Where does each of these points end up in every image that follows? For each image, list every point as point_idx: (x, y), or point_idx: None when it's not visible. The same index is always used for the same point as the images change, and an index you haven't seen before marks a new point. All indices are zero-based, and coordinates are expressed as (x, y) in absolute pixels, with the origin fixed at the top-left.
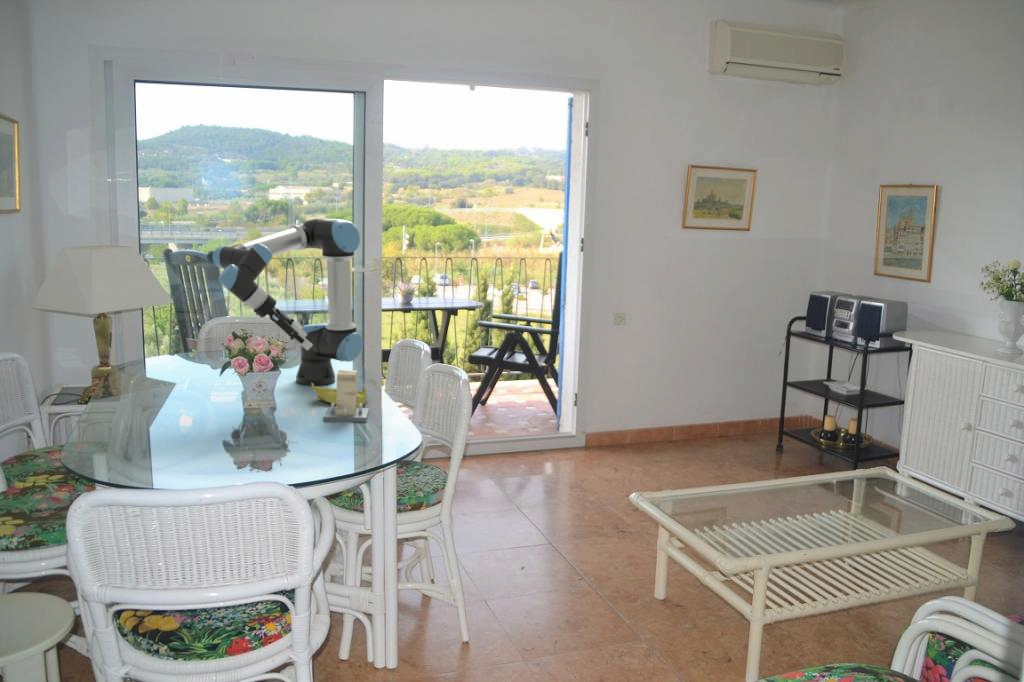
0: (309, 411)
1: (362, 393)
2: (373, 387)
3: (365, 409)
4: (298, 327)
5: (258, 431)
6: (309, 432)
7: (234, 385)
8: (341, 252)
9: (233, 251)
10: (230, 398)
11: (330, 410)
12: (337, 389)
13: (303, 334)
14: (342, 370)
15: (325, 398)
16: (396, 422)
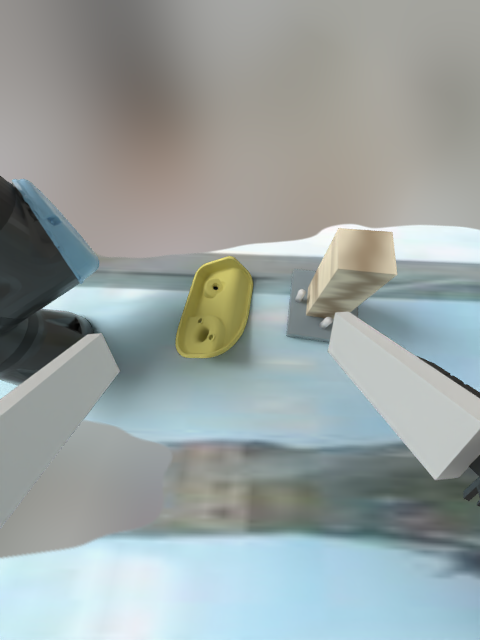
0: (283, 369)
1: (201, 273)
2: (136, 260)
3: (301, 273)
4: (26, 399)
5: (460, 495)
6: None
7: (14, 559)
8: None
9: None
10: (145, 577)
11: (310, 329)
12: (367, 296)
13: (95, 359)
14: (342, 260)
15: (238, 334)
16: None
